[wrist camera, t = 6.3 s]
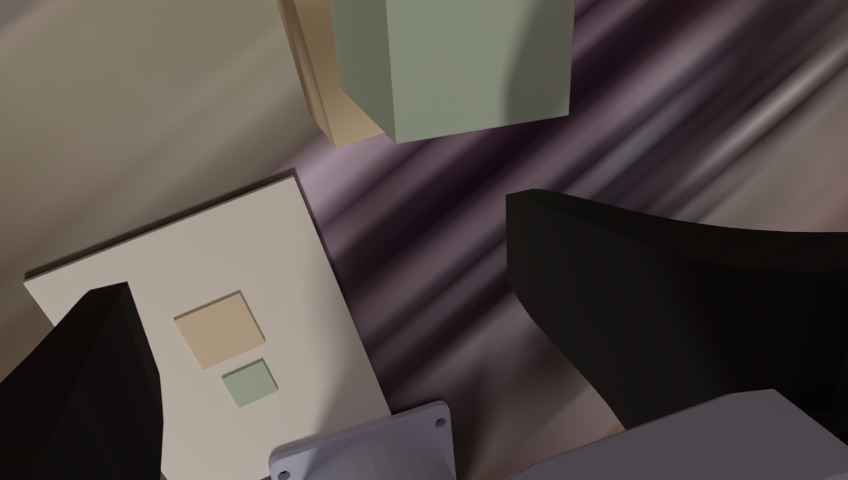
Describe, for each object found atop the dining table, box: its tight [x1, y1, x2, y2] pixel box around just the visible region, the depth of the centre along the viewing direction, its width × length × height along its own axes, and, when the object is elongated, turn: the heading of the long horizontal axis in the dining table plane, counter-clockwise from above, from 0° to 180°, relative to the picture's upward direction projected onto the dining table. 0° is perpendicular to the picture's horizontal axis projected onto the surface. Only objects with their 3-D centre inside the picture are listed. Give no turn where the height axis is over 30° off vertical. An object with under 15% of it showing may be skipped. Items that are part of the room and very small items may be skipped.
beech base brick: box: [277, 0, 385, 148], centre depth 19 cm, size 6×6×4 cm
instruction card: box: [23, 175, 392, 480], centre depth 24 cm, size 12×9×1 cm
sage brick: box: [330, 0, 575, 144], centre depth 15 cm, size 4×4×5 cm
